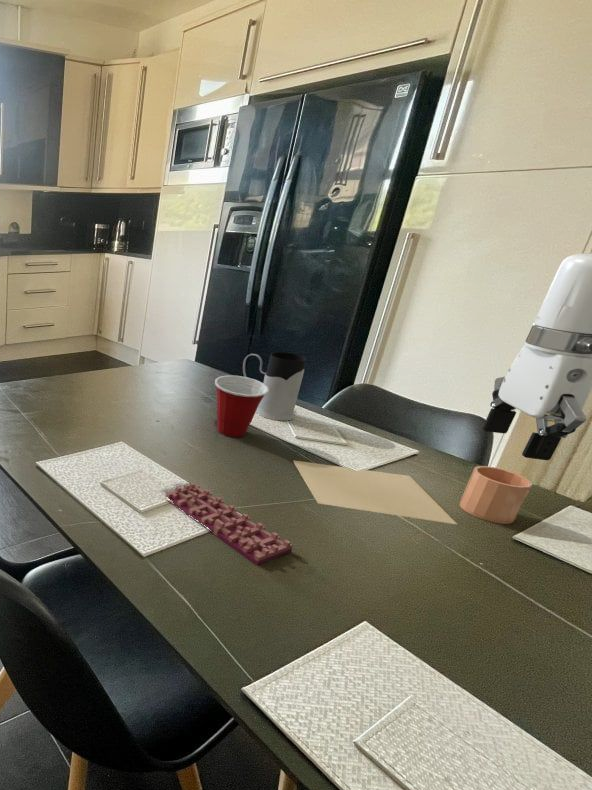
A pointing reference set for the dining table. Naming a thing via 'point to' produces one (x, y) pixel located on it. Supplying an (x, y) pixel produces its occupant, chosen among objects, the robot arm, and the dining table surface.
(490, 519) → the peach cup
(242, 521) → the maroon flat bar
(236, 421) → the plastic cup
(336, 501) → the mat
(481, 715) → the dining table surface
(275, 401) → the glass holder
